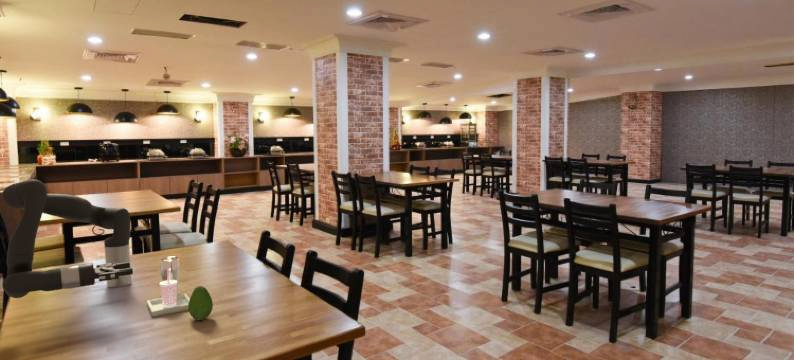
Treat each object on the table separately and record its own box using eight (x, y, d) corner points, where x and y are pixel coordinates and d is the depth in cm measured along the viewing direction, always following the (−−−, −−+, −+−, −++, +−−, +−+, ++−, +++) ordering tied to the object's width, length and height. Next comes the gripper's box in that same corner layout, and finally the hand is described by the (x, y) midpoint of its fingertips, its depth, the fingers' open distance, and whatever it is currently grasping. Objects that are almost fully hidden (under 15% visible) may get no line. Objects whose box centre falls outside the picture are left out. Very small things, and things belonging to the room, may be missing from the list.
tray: (146, 305, 186) (146, 300, 186) (186, 298, 194) (185, 293, 194) (152, 317, 175) (151, 311, 175) (193, 309, 183) (193, 303, 182)
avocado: (198, 325, 167) (197, 290, 166) (184, 320, 171) (182, 287, 170) (218, 317, 174) (216, 284, 173) (204, 313, 178) (202, 281, 177)
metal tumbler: (173, 298, 194) (171, 261, 193) (158, 297, 196) (156, 260, 194) (184, 292, 201) (182, 256, 200) (169, 291, 203) (167, 255, 201)
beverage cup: (160, 309, 180) (158, 272, 179) (160, 304, 186) (158, 268, 184) (179, 306, 183) (177, 270, 182) (178, 301, 189) (176, 266, 187)
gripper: (77, 270, 162) (132, 262, 171) (76, 260, 174) (128, 253, 183) (79, 292, 163) (134, 283, 172) (78, 281, 175) (129, 273, 184)
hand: (131, 267), depth 178 cm, fingers open, 8 cm apart
